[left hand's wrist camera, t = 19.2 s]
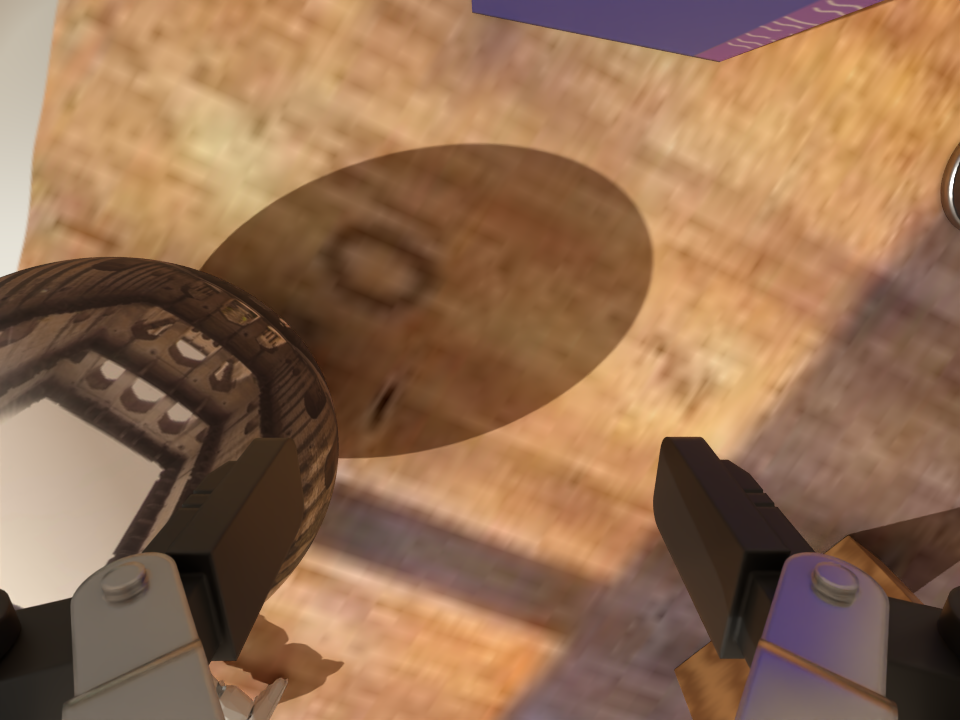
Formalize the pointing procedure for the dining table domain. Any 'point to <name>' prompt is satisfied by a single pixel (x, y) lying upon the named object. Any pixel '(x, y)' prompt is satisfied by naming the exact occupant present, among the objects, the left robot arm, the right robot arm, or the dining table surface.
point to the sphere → (138, 411)
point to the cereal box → (677, 21)
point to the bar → (722, 681)
